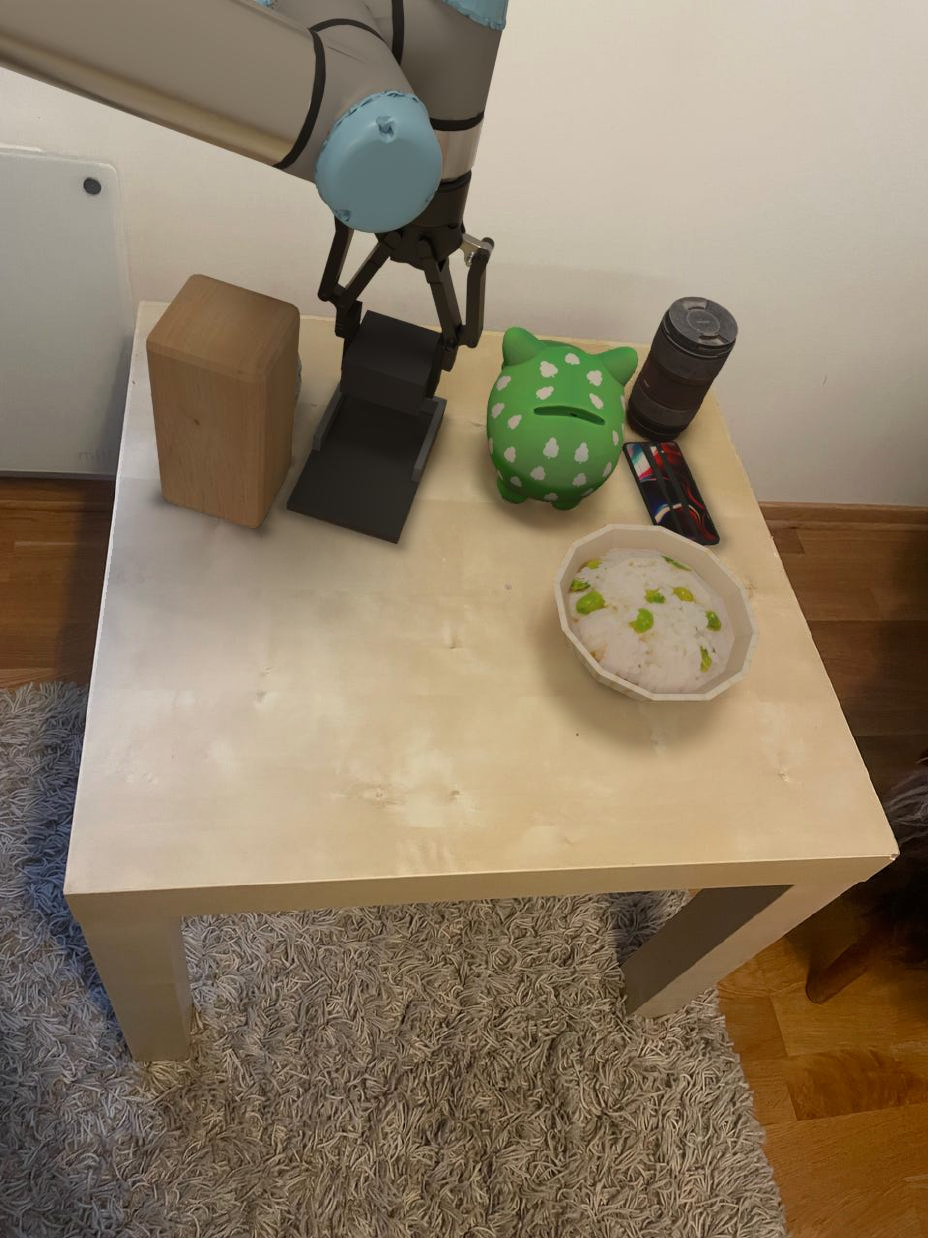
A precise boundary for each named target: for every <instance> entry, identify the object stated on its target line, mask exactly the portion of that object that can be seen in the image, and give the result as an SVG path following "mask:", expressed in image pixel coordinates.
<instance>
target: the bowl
mask: <svg viewBox="0 0 928 1238" xmlns="http://www.w3.org/2000/svg"><path fill="white" fill-rule="evenodd" d="M552 585H553V586H552V587H553V590H554V596H555V601H556V605H557V611H558V612H557V613H558V617H559V621H560V622H559V623H560V626H561V627H560V628H561V631H562V634H563V637H564V640H565V644H566V646H568V648H569V649H570V650H571V651H572V653H573V654H574V655H575V656H576V657H577V659H578V660H579V661H580V663H581V664H582V665H583V666H584V667H585V668H586V669H587V671H588V672H589V673H590V674H591V676H592V677H593V678H594V679H595V680H596V682H599V683H600V684H603V685H605V686H607V687H609V688H610V689H612V690H615V691H617V692H619V693H621V694H623V695H625V696H627V697H629V698H631V699H634V700H636V701H637V702H639V703H696V702H708V701H710V700H712V699H714V698H715V697H716V696H718V695H719V694H721V693H723V692H724V691H725V690H727V689H729V688H730V687H732V686H733V685H735V684H736V683H738V682H740V681H741V680H742V679H744V678H746V677H747V676H749V672H750V669H751V665H752V662H753V660H754V659H753V658H754V655H755V652H756V649H757V646H758V642H759V639H760V638H759V637H760V635H761V632H760V631H761V630H760V628H759V625H758V622H757V619H756V616H755V613H754V610H753V606H752V604H751V600H750V598H749V597H750V596H749V595H748V592H747V588H746V586H745V585H744V584H743V583H742V582H741V580H740V579H738V578H737V577H736V575H734V573H732V571H731V570H730V569H729V568H728V567H727V566H726V565H725V564H724V563H723V561H722V560H720V558H719V557H718V556H716V555H715V553H714V552H713V551H712V550H711V549H710V548H708V547H706V546H702V545H700V544H698V543H696V542H694V541H691V540H689V539H687V538H685V537H683V536H681V535H679V534H677V533H674V532H672V531H670V530H668V529H666V528H664V527H662V526H654V525H649V524H648V525H647V524H628V523H627V524H626V523H625V524H624V523H610V524H608V525H605V526H604V527H601V528H599V529H597V530H596V531H593V532H591V533H589V534H587V535H586V536H585V535H584V536H583V537H581V538H579V539H577V540H575V541H573V542H571V543H570V545H569V547H568V549H567V552H566V553H565V555H564V557H563V559H562V562H561V564H560V566H559V567H558V570H557V571H556V573H555V576H554V578H553V580H552Z"/></svg>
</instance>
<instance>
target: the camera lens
mask: <svg viewBox="0 0 928 1238" xmlns="http://www.w3.org/2000/svg"><path fill="white" fill-rule="evenodd" d="M738 333H739V325H738V323H737V320H736V319H735V316H734V315H733V314H732V313H731V312H730V311H729V309H727V308H726V307H725V306H723V305H722V304H719V303H718V302H716V301H714V300H711V299H708V298H705V297H702V296H685V297H684V296H683V297H681V298H678V299H675V300H674V301H673V302H672V303H671V304H670V306H669V307H668V309H667V310H666V311H665V312H664V314H663V316H662V318H661V321H660V323H659V325H658V327H657V329H656V331H655V335H654V336H653V338H652V342H651V345H650V349H649V352H648V354H647V356H646V359H645V361H644V362H643V365H642V366H641V369H640V371H639V372H638V375H637V376H636V378H635V380H634V383H633V385H632V388H631V391H630V394H629V398H628V401H627V406H628V408H627V411H626V419H627V423H628V424H629V426H630V427H631V428H632V430H633V431H634V432H635V433H637V435H639V437H640V436H641V437H642V438H643V439H646V440H648V441H650V442H651V441H658V442H667V441H673V442H674V440H677V438H678V437H679V436H680V434H681V433H682V432H684V431H686V430H687V429H688V427H689V426H690V424H691V422H692V421H693V420H694V419H695V417H696V416H697V414H698V412H699V410H700V408H701V407H702V405H703V402H704V401H705V398H706V396H707V395H708V392H709V390H710V389H711V387H712V385H713V383H714V381H715V379H716V378H717V377H718V376H719V375H720V372H721V371H722V369H723V367H724V366H725V364H726V362H727V360H728V358H729V356H730V355H731V353H732V351H733V349H734V347H735V346H736V342H737V337H738Z"/></svg>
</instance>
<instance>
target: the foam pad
mask: <svg viewBox="0 0 928 1238" xmlns="http://www.w3.org/2000/svg"><path fill="white" fill-rule="evenodd" d="M440 334H441V332H440V331H436V330H433V329H430V328H427V327H424V326H421V325H417V324H414V323H411V322H408V321H404V320H402V319H399V318H397V317H392V316H389V315H387V314H384V313H380V312H377V311H373V310H372V309H371V310H370V309H367V310H366V312H365V313H364V315H363V318H362V319H361V321H360V326H359V328H358V330H357V332H356V335H355V337H354V339H353V341H352V343H351V344H350V346H349V348H348V350H347V352H346V354H345V356H344V358H343V361H342V360H341V363H342V371H341V370H340V371H341V372H340V380H339V382H340V390H339V392H342V393H345V394H348V395H351V396H354V397H358V398H361V399H364V400H367V401H370V402H373V403H377V404H380V405H383V406H386V407H389V408H392V409H396V410H399V411H402V412H405V413H408V414H411V415H415V416H419V413H420V411H421V408H422V406H423V403H424V400H425V398H426V393H427V388H428V383H429V378H430V374H431V369H432V368H431V367H432V362H433V358H434V353H435V348H436V344H437V342H438V339H439V337H440Z"/></svg>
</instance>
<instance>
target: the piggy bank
mask: <svg viewBox="0 0 928 1238" xmlns="http://www.w3.org/2000/svg"><path fill="white" fill-rule="evenodd" d="M501 352H502V359H503V361H502V363H501V369H500V370H501V371H500V373H499V374H498V376H497V378H496V380H495V382H494V383H493V385H492V387H491V390H490V393H489V396H488V400H487V406H486V427H485V428H486V438H487V439H486V440H487V446H488V451H489V456H490V458H491V462H492V464H493V467H494V470H495V471H496V486H497V490H498V492H499V494H500V496H501V498H502V499H503V501H505V502H508V503H511V504H521V503H525V502H526V501H528V499H531V500H534V501H538V502H542V503H547V504H548V503H549V504H551V506H552V508H554V509H555V510H558V511H569V510H572V509H575V508H576V507H577V506H578V505H580V503H581V502H582V501H583V500H584V499H586V498H588V497H589V496H591V495H592V494H594V493H595V492H596V491H598V489H600V488H601V487H603V485H604V484H605V483H606V482H607V481H608V480H609V478H610V477H611V475H612V474H613V473H614V471H615V469H616V467H617V465H618V463H619V460H620V457H621V454H622V452H623V449H622V447H623V445H624V440H625V432H626V431H625V429H626V418H627V411H626V396H625V395H626V394H625V387H626V385H627V384H628V383H629V381H630V380H631V379H632V377H633V376H634V374H635V373H636V370H637V368H638V366H639V354H638V351H637V349H635V348H634V347H631V346H627V345H626V346H619V347H615V348H611V349H607V350H604V351H602V352H598V353H596V354H593V353H589V352H586V351H585V350H584V349H582V348H580V347H579V346H576V345H574V344H571V343H568V342H563V341H559V340H553V339H539V338H538V337H536V336H535V335H534V334H533V333H531V332H530V331H528V330H527V329H526V328H523V327H521V326H511V327H509V328H507V329H506V330H505V332H504V334H503V337H502V344H501Z"/></svg>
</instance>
